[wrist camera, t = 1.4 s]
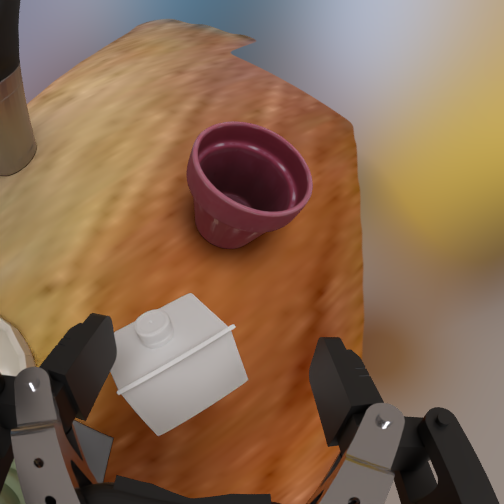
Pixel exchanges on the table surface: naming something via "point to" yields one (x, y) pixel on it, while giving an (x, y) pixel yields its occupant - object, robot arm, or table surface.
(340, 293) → the table surface
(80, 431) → the mat
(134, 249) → the table surface
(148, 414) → the milk carton
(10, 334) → the bowl
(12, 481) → the olive bottle
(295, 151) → the plant pot
